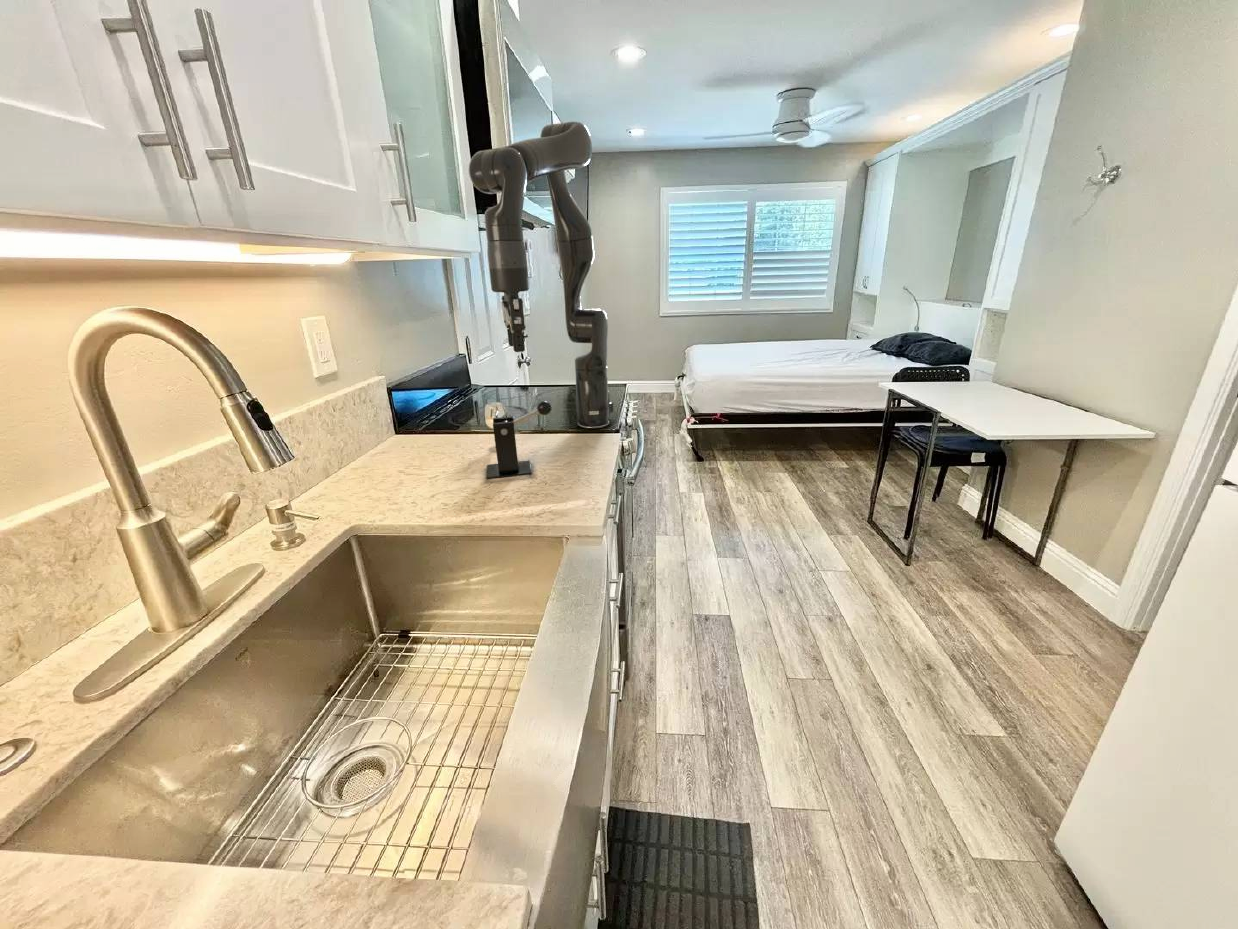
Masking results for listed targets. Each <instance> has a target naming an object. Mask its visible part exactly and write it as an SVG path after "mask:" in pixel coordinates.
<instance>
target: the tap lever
mask: <svg viewBox="0 0 1238 929" xmlns="http://www.w3.org/2000/svg"><path fill="white" fill-rule="evenodd" d="M551 412H552V405H551V403H550V402H549V401H546V400H543V401H539V403H538V404H537V405H536V409H534V410H532V411H530V412H528V413H526V414H523V415H522V416H519V417H517V418H516V419H513V422H514V427H515V426H518V425H520V424H522V423H523V422H526V421H527V420H529V419H532V418H534V417H536V416H539V415H540V416H548V415H550V413H551ZM503 422H508V420H505V421H503ZM511 422H512V421H511Z"/></svg>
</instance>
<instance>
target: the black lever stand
mask: <svg viewBox="0 0 1238 929" xmlns="http://www.w3.org/2000/svg"><path fill="white" fill-rule="evenodd" d="M505 420H508V422H503V421H505ZM513 420H514V416H507V417H501V418H493V438H494V445H495V452H496V460H497V463H491V464H486V474H485V475H486V476H485V478H486V480H494V479H495V480H496V479H503V478H504V479H505V478H512V477H521V476H522V477H523V476H531V475H533V471H532V466H531V461H530V460H519V458H518V451H517V450H518V449H517V441H516V440H517V439H516V432H515V426H514V422H513ZM511 421H512V422H511Z"/></svg>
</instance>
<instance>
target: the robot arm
mask: <svg viewBox="0 0 1238 929" xmlns="http://www.w3.org/2000/svg"><path fill="white" fill-rule="evenodd" d="M592 153H593V142H592V137H591V134H590V131H589V129H588V127H587V126H586V125H585V124H583V123H582V122H580V121H566V122H559V123H551V124H546V125H545V126H543V127H542V129H541V132H540V137H535V138H528V139H524V140H520V141H516V142H513V143H511V144H509V145H506V146H503V147H496V148H495V147H494V148H489V149H484V150H479V151H477V152H475V153H474V155H473V156H472V157H471V158H470V161H469V164H468V175H469V178H470V181H471V183H472V185H473V186H474V187H475V188H476V189H477V190H478V191H479V192H481V193H483V194H487V195H494V194H501V195H500V199H499V202H498V204H495V205H494V206H491V207H489V208H487V209H486V210H485V211H484V227H485V235H486V242H487V243H486V244H487V245H486V246H487V247H486V250H487V251H486V252H487V263H488V271H489V279H490V288H491V291H492V292H493V293H503V295H501V302H500V304H501V309H502V317H503V323H504V325H505V328H506V332H507V342H508V345H509V346H510V347H513V348H512V349H513V351H514V352H515V353H521V352H522V353H523V352H525V350H526V344H525V336H524V333H525V331H526V324H525V314H524V301H523V298H522V297H520V294H519V293H520V292H521V293H522V292H527V291H529V290H530V282H529V271H528V261H527V260H528V259H527V252H526V247H525V242H524V231H523V220H522V219H523V218H522V217H523V211H524V201H525V195H526V189H527V184H528V183H531V182H532V181H535V180H537V179H540V178H542V177H545V178H546V183H547V187H548V192H549V196H550V202H551V209H552V212H553V213H552V214H553V221H554V231H555V240H556V247H557V254H558V259H559V266H560V272H561V279H562V288H563V299H564V300H563V301H564V313H565V314H564V316H565V317H564V318H565V327H566V333H567V336H568V338H569V340H570V341H571V342H572V343H575V344H591V347H590V351H588V352H587V353H585V354H581V355H578V356H577V357H575V358H574V374H575V391H576V408H577V409H576V410H577V426H578V427H579V428H581V429H584V430H585V429H586V430H599V429H604V428H607V427H608V426H610V423H611V413H614V402H613V401H611V400H610V397H611V396H610V391H609V383H608V382H609V381H608V354H609V352H608V349H609V348H608V347H609V346H608V344H609V343H608V342H609V341H608V339H609V336H608V335H609V323H608V317H607V313H606V312H605V310H604V309H601V308H582V303H581V296H582V289H583V285H584V283H585V281H586V279H587V277H588V275H589V272H590V270H591V268H592V265H593V263H594V259H595V250H594V249H595V247H594V238H593V230H592V227H591V224H590V223H589V220H588V219H587V217H586V216H585V214H584V213H583V212H582V210H581V209H580V207H579V206H578V205H577V203H576V201H575V200H574V198H573V196H572V194H571V191H570V189H569V186H568V181H567V177H566V171H568V170H576V169H577V170H578V169H581V168H584V167H585V166H587V165H588V164H589V163H590V161H591V159H592Z"/></svg>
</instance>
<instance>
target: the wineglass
mask: <svg viewBox="0 0 1238 929" xmlns="http://www.w3.org/2000/svg"><path fill="white" fill-rule="evenodd" d="M483 416H484V417H483V419H484V423H485V425H486V426H487V427H488V428H490V429H493V418H501V417H508V412H507V409H506V407H505V404H504V403H503V402H499V401H498V402H489V403H486V404H484V411H483ZM493 430H494V429H493Z"/></svg>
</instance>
